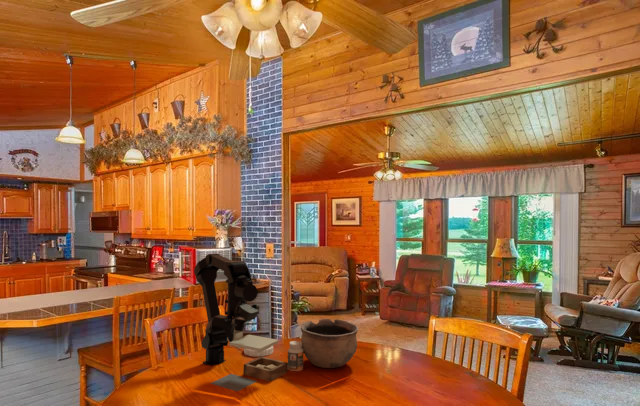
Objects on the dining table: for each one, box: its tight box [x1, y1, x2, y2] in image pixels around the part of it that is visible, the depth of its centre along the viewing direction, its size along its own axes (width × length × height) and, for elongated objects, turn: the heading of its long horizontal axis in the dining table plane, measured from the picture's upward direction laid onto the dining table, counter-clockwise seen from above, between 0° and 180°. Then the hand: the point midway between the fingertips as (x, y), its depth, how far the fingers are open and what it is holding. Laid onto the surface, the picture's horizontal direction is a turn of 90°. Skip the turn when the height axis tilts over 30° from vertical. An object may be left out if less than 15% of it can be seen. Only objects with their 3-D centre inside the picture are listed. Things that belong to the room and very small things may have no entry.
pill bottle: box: [287, 340, 304, 372], centre depth 155 cm, size 6×6×10 cm
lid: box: [227, 329, 280, 353], centre depth 146 cm, size 17×11×4 cm, turn 62°
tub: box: [243, 356, 289, 383], centre depth 150 cm, size 12×10×4 cm
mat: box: [210, 373, 258, 392], centre depth 141 cm, size 12×10×1 cm
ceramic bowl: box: [299, 318, 359, 369], centre depth 161 cm, size 22×22×15 cm
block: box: [265, 365, 277, 370], centre depth 150 cm, size 3×3×2 cm
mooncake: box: [243, 345, 274, 358], centre depth 173 cm, size 12×12×4 cm
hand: (234, 340), depth 149 cm, fingers closed on lid, 4 cm apart
